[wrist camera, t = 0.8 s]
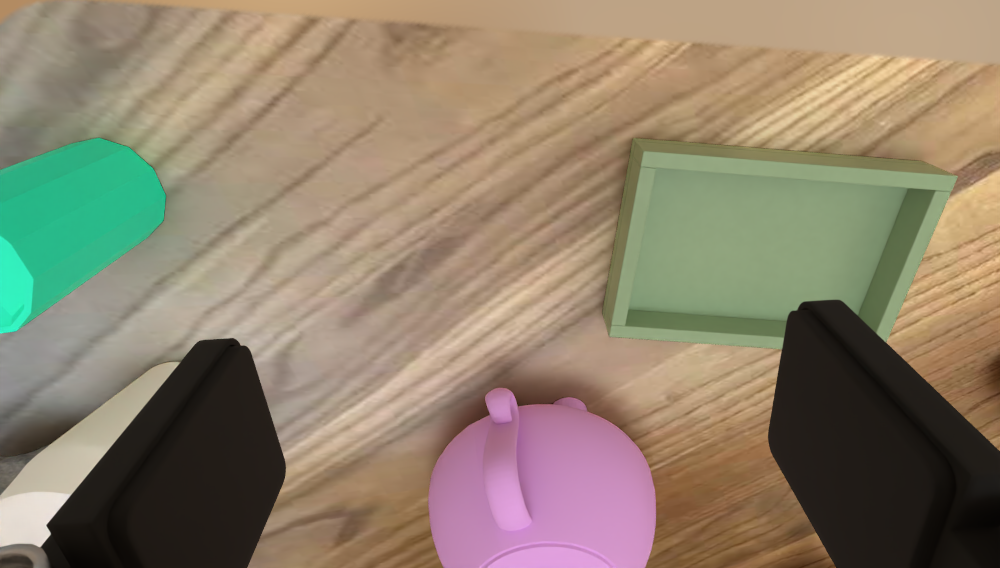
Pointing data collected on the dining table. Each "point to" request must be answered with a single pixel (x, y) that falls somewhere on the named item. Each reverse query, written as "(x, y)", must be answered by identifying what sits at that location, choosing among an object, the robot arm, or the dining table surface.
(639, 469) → the teapot
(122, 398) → the cup
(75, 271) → the candle
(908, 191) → the tray
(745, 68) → the dining table surface
